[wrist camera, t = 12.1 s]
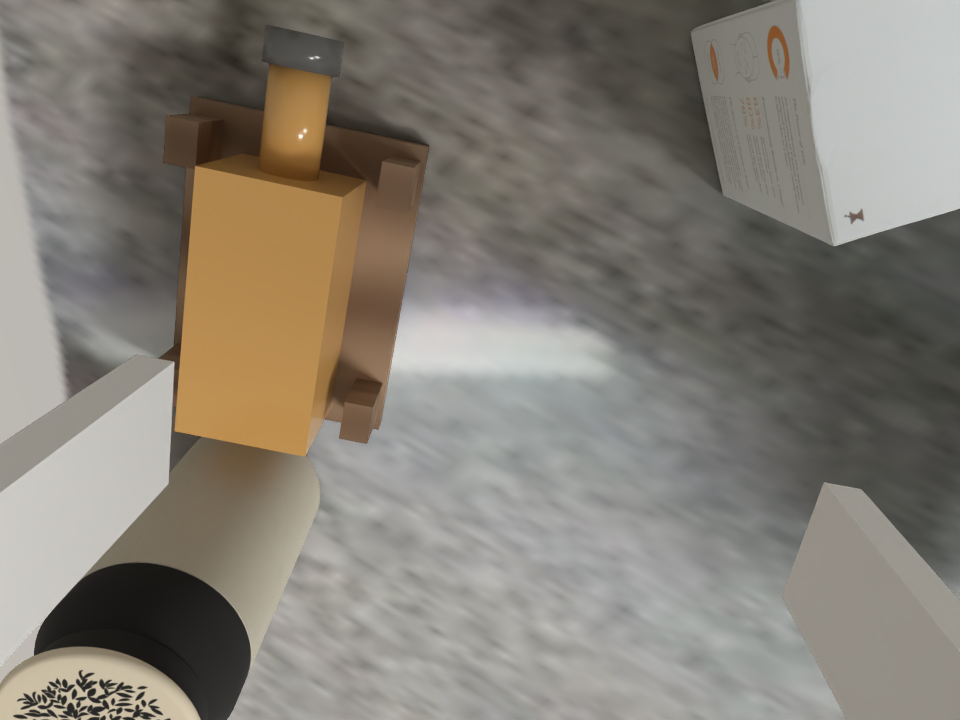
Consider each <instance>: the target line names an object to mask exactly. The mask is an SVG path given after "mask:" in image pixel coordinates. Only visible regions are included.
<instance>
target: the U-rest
mask: <svg viewBox="0 0 960 720" xmlns="http://www.w3.org/2000/svg"><path fill="white" fill-rule="evenodd" d="M263 117H264V110H259V109H255V108H250V107H245V106H241V105H236V104H231V103H226V102H222V101H217V100H212V99H208V98H203V97H191V106H190V114H181V115H169V116H166V127H165V144H164V161H163V163H167V164H172V165H177V166H181V167H186V177H185V192H184V206H183V220H182V235H181V249H180V264H179V278H178V292H177V307H176V321H175V335H174V347H172V348H171V349H170V350H169V351H167V352H166V353H165V354H164V355H162V356H161V357H160V358H159V359H162V360H168V361H173V362H174V382H173V403H172V406H174V407H176V406H177V393H178V380H179V367H180V354H181V342H182V329H183V316H184V303H185V290H186V278H187V265H188V252H189V239H190V227H191V214H192V201H193V188H194V175H195V166H197V165H201V164H205V163H209V162H212V161H216V160H220V159H224V158H228V157H232V156H235V155H239V154H246V155H251V156H256V157H259V155H260V146H261V136H262V127H263ZM428 151H429V146H428V145H424V144H419V143H414V142H409V141H405V140H400V139H395V138H391V137H386V136H381V135H377V134H372V133H367V132H363V131H358V130H353V129H348V128H344V127H339V126H334V125H330V124H326V126H325V134H324V141H323V149H322V157H321V164H320V170H321V171H326V172H330V173H335V174H340V175H344V176H349V177H354V178H358V179H363V180H367V182H366V189H365V195H364V202H363V208H362V214H361V221H360V227H359V234H358V240H357V247H356V253H355V260H354V266H353V273H352V279H351V286H350V292H349V298H348V305H347V311H346V318H345V324H344V331H343V337H342V344H341V350H340V357H339V363H338V370H337V376H336V382H335V389H334V395H333V402H332V406H331V408H330V410H329V412H328V414H327V416H326V418H325V419H326V420H331V421H336V422H341V429H340V436H339V439H345V440H350V441H355V442H360V443H365V444H367V442H368V440H369V437H370V434H371V432H372V429H377V430H378V429H379V426H380V424H381V419H382V414H383V408H384V402H385V397H386V391H387V385H388V379H389V374H390V368H391V362H392V357H393V351H394V345H395V339H396V334H397V328H398V322H399V317H400V311H401V305H402V300H403V294H404V288H405V282H406V277H407V271H408V265H409V260H410V254H411V248H412V242H413V237H414V231H415V225H416V220H417V214H418V208H419V203H420V197H421V191H422V185H423V180H424V174H425V168H426V163H427V157H428Z"/></svg>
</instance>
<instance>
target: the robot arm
mask: <svg viewBox="0 0 960 720" xmlns="http://www.w3.org/2000/svg"><path fill="white" fill-rule="evenodd" d="M173 382H174V362H173V361H168V360H162V359H157V358H152V357H146V356H141V355H135V356H133V357H132V358H130V359H129V360H127V361H126V362H124V363H123V364H121V365H120V366H118V367H117V368H115V369H114V370H112V371H111V372H109V373H108V374H106V375H105V376H103V377H101V378H100V379H98V380H97V381H95V382H94V383H92V384H91V385H89V386H88V387H86V388H85V389H83V390H82V391H80V392H79V393H77V394H76V395H74V396H73V397H71V398H70V399H68V400H67V401H65V402H63V403H62V404H60V405H59V406H57V407H56V408H54V409H53V410H51V411H50V412H48V413H47V414H45V415H44V416H42V417H41V418H39V419H38V420H36V421H35V422H33V423H32V424H30V425H29V426H27V427H26V428H24V429H22V430H21V431H20V432H18V433H16V434H15V435H13V436H12V437H10V438H9V439H7V440H6V441H4V442H3V443H1V444H0V666H1V665H2V664H3V663H4V662H5V661H6V660H7V659H8V658H9V657H10V655H11V654H12V653H13V652H14V651H15V650H16V649H17V648H18V647H19V646H20V644H22V642H23V641H24V640H25V639H26V638H27V637H28V636H29V635H30V634H31V632H33V630H34V629H35V628H36V627H37V626H38V625H39V624H40V623H41V622H42V621H43V620H44V619H45V617H46V616H47V615H48V614H49V613H50V612H51V611H52V610H53V609H54V608H55V607H56V605H57V604H58V603H59V602H60V601H61V600H62V599H63V598H64V597H65V596H66V595H67V594H68V592H69V591H70V590H71V589H72V588H73V587H74V586H75V585H76V584H77V583H78V582H79V581H80V579H81V578H82V577H83V576H84V575H85V574H86V573H87V572H88V571H89V570H90V569H91V567H92V566H93V565H94V564H95V563H96V562H97V561H98V560H99V559H100V558H101V557H102V556H103V554H104V553H105V552H106V551H107V550H108V549H109V548H110V547H111V546H112V545H113V544H114V543H115V541H116V540H117V539H118V538H119V537H120V536H121V535H122V534H123V533H124V532H125V531H126V529H127V528H128V527H129V526H130V525H131V524H132V523H133V522H134V521H135V520H136V519H137V518H138V516H139V515H140V514H141V513H142V512H143V511H144V510H145V509H146V508H147V507H148V506H149V505H150V503H151V502H152V501H153V500H154V499H155V498H156V497H157V496H158V495H159V494H160V493H161V491H162V490H163V489H164V488H165V487H166V486H167V485H168V484H169V464H170V444H171V423H172V403H173ZM782 598H783V600H784V602H785V604H786V606H787V608H788V610H789V611H790V613H791V615H792V617H793V619H794V621H795V623H796V625H797V627H798V629H799V630H800V632H801V634H802V636H803V638H804V640H805V642H806V644H807V646H808V647H809V649H810V651H811V653H812V655H813V657H814V659H815V661H816V663H817V664H818V666H819V668H820V670H821V672H822V674H823V676H824V678H825V680H826V681H827V683H828V685H829V687H830V689H831V691H832V693H833V695H834V697H835V698H836V700H837V702H838V704H839V706H840V708H841V710H842V712H843V714H844V715H845V717H846V719H847V720H960V600H959V599H958V598H957V597H956V596H955V595H954V594H953V592H952V591H951V590H950V589H949V588H948V587H947V586H946V585H945V583H944V582H943V581H942V580H941V579H940V578H939V577H938V575H937V574H936V573H935V572H934V571H933V570H932V569H931V568H930V566H929V565H928V564H927V563H926V562H925V561H924V560H923V558H922V557H921V556H920V555H919V554H918V553H917V552H916V550H915V549H914V548H913V547H912V546H911V545H910V544H909V543H908V541H907V540H906V539H905V538H904V537H903V536H902V535H901V533H900V532H899V531H898V530H897V529H896V528H895V527H894V526H893V524H892V523H891V522H890V521H889V520H888V519H887V518H886V516H885V515H884V514H883V513H882V512H881V511H880V510H879V509H878V507H877V506H876V505H875V504H874V503H873V502H872V501H871V499H870V498H869V497H868V496H867V495H866V494H865V493H864V492H863V490H862V489H858V488H852V487H847V486H842V485H836V484H831V483H825V482H824V483H823V486H822V489H821V491H820V494H819V497H818V499H817V502H816V505H815V508H814V510H813V513H812V516H811V518H810V521H809V524H808V526H807V529H806V532H805V535H804V537H803V540H802V543H801V545H800V548H799V551H798V553H797V556H796V559H795V562H794V564H793V567H792V570H791V572H790V575H789V578H788V581H787V583H786V586H785V589H784V591H783V594H782Z"/></svg>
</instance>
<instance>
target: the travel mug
mask: <svg viewBox="0 0 960 720" xmlns="http://www.w3.org/2000/svg"><path fill="white" fill-rule="evenodd" d="M319 502H320V485H319V480H318V477H317V474H316V471H315V469H314V467H313V465H312V463H311V462H310V460H309V459H308V457H307V456H305V457H304V456H298V455H293V454H288V453H283V452H278V451H273V450H268V449H263V448H258V447H252V446H247V445H242V444H237V443H232V442H227V441H222V440H217V439H212V438H206V437H201V438H200V439H199V440H198V441H197V442H196V443H195V444H194V445H193V446H192V447H191V448H190V449H189V450H188V452H187V453H186V454H185V455H184V456H183V458H182V459H181V460H180V461H179V462H178V463H177V465H176V466H175V467H174V468H173V469H172V470H171V472H170V473H169V484H168V485H167V486H166V487H165V488H164V489H163V490H162V491H161V493H160V494H159V495H158V496H157V497H156V498H155V499H154V500H153V501H152V502H151V503H150V505H149V506H148V507H147V508H146V509H145V510H144V511H143V512H142V513H141V514H140V515H139V516H138V518H137V519H136V520H135V521H134V522H133V523H132V524H131V525H130V526H129V527H128V528H127V529H126V531H125V532H124V533H123V534H122V535H121V536H120V537H119V538H118V539H117V540H116V541H115V543H114V544H113V545H112V546H111V547H110V548H109V549H108V550H107V551H106V552H105V553H104V554H103V556H102V557H101V558H100V559H99V560H98V561H97V562H96V563H95V564H94V565H93V566H92V567H91V569H90V570H89V571H88V572H87V573H86V574H85V575H84V576H83V577H82V578H81V579H80V581H79V582H78V583H77V584H76V585H75V586H74V587H73V588H72V589H71V590H70V591H69V592H68V594H67V595H66V596H65V597H64V598H63V599H62V600H61V601H60V602H59V603H58V604H57V606H56V607H55V608H54V609H53V610H52V612H51V613H50V614H49V615H48V617H47V618H46V619H45V621H44V622H43V624H42V625H41V628H40V630H39V632H38V635H37V638H36V642H35V650H34V656H33V657H31V658H29V659H27V660H25V661H24V662H22V663H21V664H19V665H18V666H16V667H15V668H14V669H13V670H12V671H11V672H9V674H8V675H7V676H6V677H5V678H4V679H3V680H2V682H1V684H0V720H227V719H228V717H229V716H230V714H231V712H232V711H233V709H234V706H235V704H236V702H237V699H238V697H239V695H240V692H241V690H242V687H243V685H244V683H245V680H246V678H247V676H248V673H249V671H250V669H251V666H252V664H253V662H254V659H255V657H256V655H257V652H258V650H259V647H260V645H261V643H262V640H263V638H264V636H265V633H266V631H267V629H268V626H269V624H270V622H271V619H272V617H273V615H274V612H275V610H276V607H277V605H278V603H279V600H280V598H281V596H282V593H283V591H284V589H285V586H286V584H287V582H288V579H289V577H290V575H291V572H292V570H293V567H294V565H295V563H296V560H297V558H298V556H299V553H300V551H301V549H302V546H303V544H304V542H305V539H306V537H307V535H308V532H309V530H310V527H311V525H312V523H313V520H314V518H315V516H316V513H317V511H318V507H319Z"/></svg>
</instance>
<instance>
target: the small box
mask: <svg viewBox="0 0 960 720" xmlns="http://www.w3.org/2000/svg"><path fill="white" fill-rule="evenodd" d="M691 39H692V44H693V49H694V54H695V59H696V64H697V69H698V75H699V80H700V85H701V90H702V95H703V100H704V105H705V110H706V115H707V120H708V124H709V129H710V134H711V140H712V144H713V149H714V154H715V159H716V164H717V169H718V173H719V178H720V182H721V187H722V192H723V195H724V196H725V197H728V198H730V199H732V200H734V201H736V202H738V203H741V204H743V205H745V206H747V207H749V208H751V209H753V210H756V211H758V212H760V213H762V214H764V215H767V216H769V217H771V218H773V219H775V220H778V221H780V222H782V223H784V224H786V225H789V226H791V227H793V228H795V229H797V230H799V231H802V232H804V233H806V234H808V235H810V236H812V237H815V238H817V239H819V240H821V241H824V242H825V243H827V244H830V245H832V246H837V245H840V244H843V243H846V242H850V241H853V240H856V239H859V238H863V237H866V236H869V235H872V234H876V233H879V232H882V231H885V230H889V229H892V228H895V227H899V226H902V225H905V224H909V223H912V222H916V221H920V220H923V219H926V218H930V217H933V216H937V215H940V214H943V213H947V212H950V211H954V210H957V209H960V0H776V1H773V2H770V3H767V4H764V5H761V6H758V7H755V8H752V9H749V10H746V11H743V12H740V13H736V14H733V15H730V16H727V17H724V18H721V19H719V20H716V21H713V22H710V23H707V24H704V25H701V26H699V27H696V28H695V29H693V30H692V31H691Z"/></svg>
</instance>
